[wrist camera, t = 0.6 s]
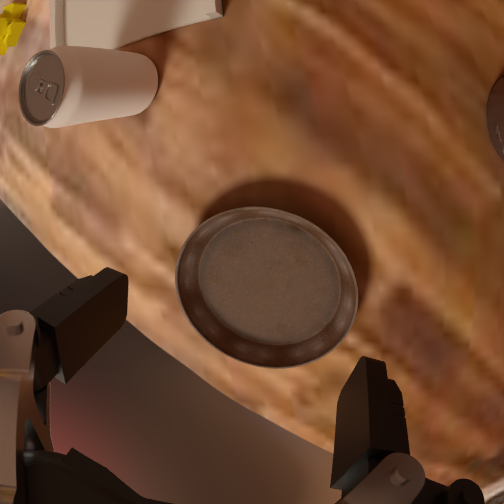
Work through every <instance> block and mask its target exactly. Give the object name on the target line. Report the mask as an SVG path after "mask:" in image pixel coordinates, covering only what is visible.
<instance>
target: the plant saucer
mask: <svg viewBox="0 0 504 504" xmlns="http://www.w3.org/2000/svg"><path fill="white" fill-rule="evenodd" d="M175 285H176V292H177V296H178V299H179V302H180V305H181V308H182V310H183V312H184V314H185V316H186V317H187V319H188V321H189V322H190V324H191V325H192V326H193V328H194V329H195V330H196V331H197V333H198V334H199V335H200V336H201V337H202V338H203V339H204V340H205V341H206V342H207V343H209V344H210V345H211V346H212V347H214V348H215V349H217V350H218V351H220V352H221V353H223V354H225V355H226V356H229V357H231V358H233V359H235V360H237V361H240V362H243V363H245V364H249V365H253V366H257V367H264V368H273V369H283V368H292V367H298V366H302V365H306V364H309V363H312V362H314V361H316V360H319V359H321V358H322V357H324V356H326V355H327V354H329V353H330V352H331V351H333V350H334V349H335V348H336V347H337V346H338V345H339V344H340V343H341V342H342V341H343V340H344V339H345V337H346V336H347V334H348V333H349V331H350V329H351V327H352V325H353V323H354V320H355V317H356V313H357V308H358V286H357V281H356V278H355V274H354V271H353V269H352V266H351V264H350V262H349V260H348V258H347V257H346V255H345V254H344V252H343V251H342V249H341V248H340V247H339V246H338V244H337V243H336V242H335V241H334V240H333V239H332V238H331V237H330V236H329V235H328V234H327V233H326V232H324V231H323V230H322V229H321V228H319V227H318V226H316V225H315V224H313V223H312V222H310V221H308V220H306V219H304V218H302V217H300V216H297V215H295V214H292V213H290V212H287V211H283V210H280V209H275V208H269V207H257V206H253V207H241V208H235V209H231V210H228V211H224V212H222V213H219V214H217V215H215V216H213V217H211V218H209V219H207V220H206V221H205V222H203V223H202V224H200V225H199V226H198V227H197V228H196V229H195V230H194V231H193V232H192V233H191V234H190V236H189V237H188V238H187V240H186V241H185V243H184V244H183V246H182V248H181V251H180V253H179V256H178V260H177V264H176V270H175Z"/></svg>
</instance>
